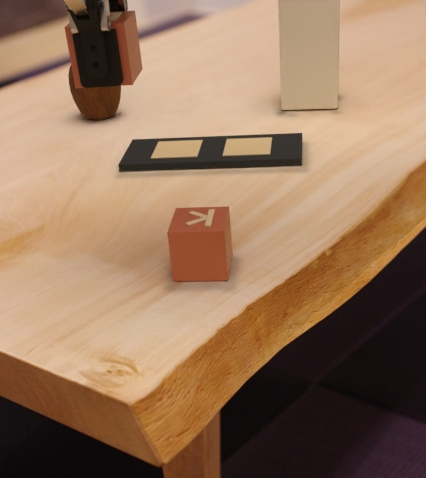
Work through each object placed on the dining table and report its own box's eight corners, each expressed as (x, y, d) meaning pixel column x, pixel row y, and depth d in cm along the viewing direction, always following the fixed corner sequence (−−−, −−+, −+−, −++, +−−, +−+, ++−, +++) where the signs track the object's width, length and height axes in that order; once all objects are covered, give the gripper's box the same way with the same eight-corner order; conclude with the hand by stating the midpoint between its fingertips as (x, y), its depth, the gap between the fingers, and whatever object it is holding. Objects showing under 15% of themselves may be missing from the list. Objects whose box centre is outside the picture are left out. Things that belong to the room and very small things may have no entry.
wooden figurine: (68, 116, 100) (46, -3, 92) (104, 105, 103) (85, -11, 95) (95, 126, 96) (74, 2, 87) (131, 115, 98) (114, -7, 90)
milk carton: (337, 109, 94) (339, -58, 83) (281, 111, 95) (276, -54, 85) (338, 93, 100) (340, -66, 89) (285, 94, 101) (281, -62, 91)
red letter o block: (142, 69, 60) (134, 8, 58) (132, 85, 56) (123, 21, 54) (88, 72, 61) (78, 12, 58) (75, 88, 57) (63, 25, 54)
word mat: (302, 139, 86) (302, 131, 85) (301, 165, 79) (301, 157, 79) (133, 145, 88) (132, 138, 88) (119, 171, 82) (117, 163, 81)
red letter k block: (232, 254, 64) (229, 204, 61) (228, 280, 60) (224, 229, 57) (180, 255, 64) (175, 206, 62) (173, 281, 60) (166, 230, 58)
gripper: (92, -220, 41) (138, 107, 51) (144, -208, 55) (171, 47, 65) (-37, -206, 42) (32, 113, 52) (46, -197, 56) (88, 52, 66)
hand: (109, 73), depth 58 cm, fingers closed on red letter o block, 4 cm apart
